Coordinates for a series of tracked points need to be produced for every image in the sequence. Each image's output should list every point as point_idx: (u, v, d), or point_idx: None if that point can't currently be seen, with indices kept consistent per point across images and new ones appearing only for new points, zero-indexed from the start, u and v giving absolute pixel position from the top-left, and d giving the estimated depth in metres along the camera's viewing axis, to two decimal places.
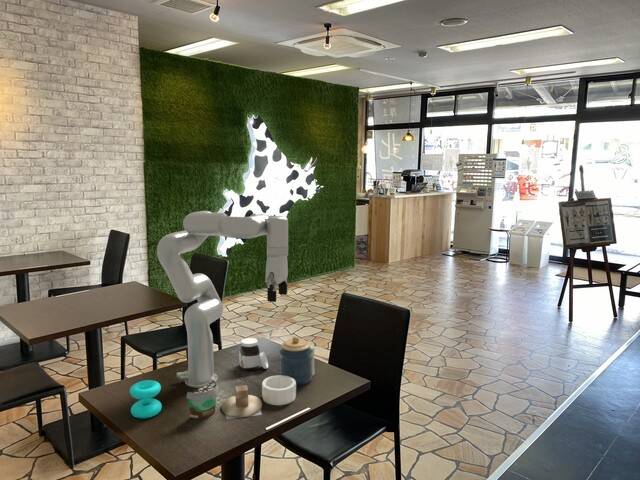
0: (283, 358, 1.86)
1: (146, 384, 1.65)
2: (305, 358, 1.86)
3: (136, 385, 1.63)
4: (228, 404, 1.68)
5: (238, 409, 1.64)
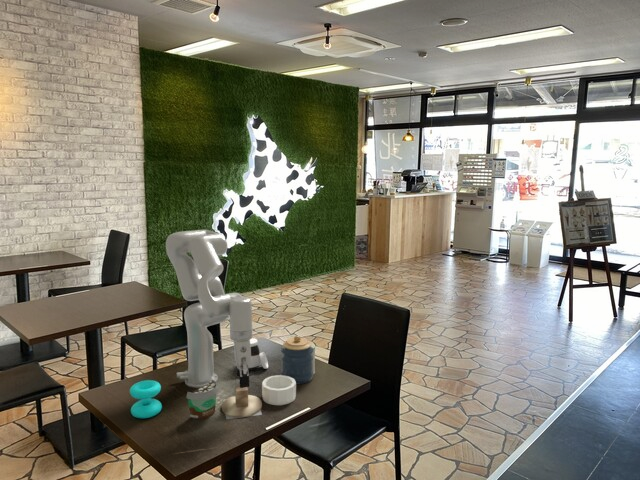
0: (285, 357, 1.88)
1: (146, 384, 1.65)
2: (307, 357, 1.87)
3: (136, 385, 1.63)
4: (228, 404, 1.68)
5: (238, 409, 1.64)
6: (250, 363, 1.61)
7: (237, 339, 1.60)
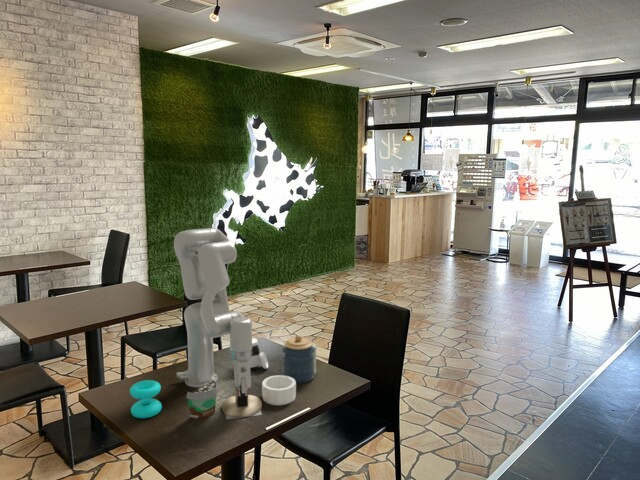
0: (286, 356, 1.88)
1: (146, 384, 1.65)
2: (308, 357, 1.88)
3: (136, 385, 1.63)
4: (228, 404, 1.68)
5: (238, 409, 1.64)
6: (249, 383, 1.63)
7: (237, 359, 1.62)
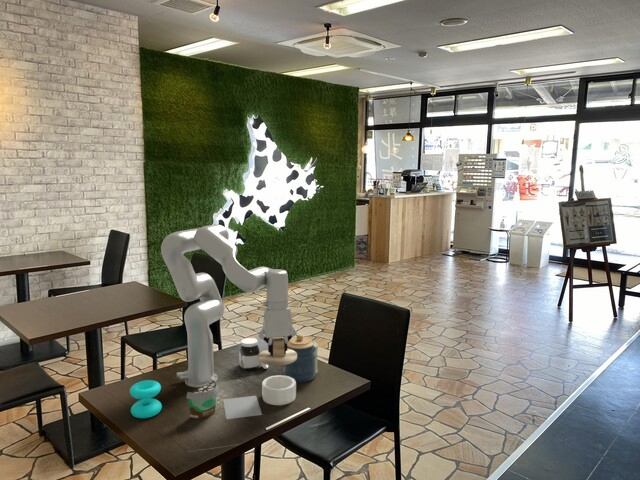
0: None
1: (146, 384, 1.65)
2: (309, 356, 1.88)
3: (136, 385, 1.63)
4: None
5: (267, 354, 1.74)
6: (264, 332, 1.68)
7: None
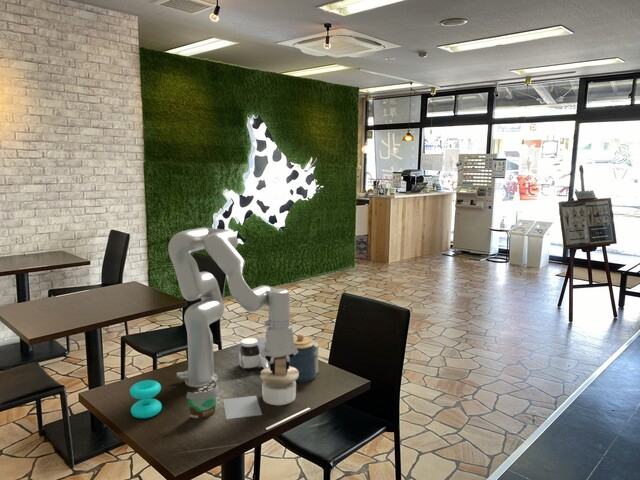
0: None
1: (146, 384, 1.65)
2: (309, 356, 1.88)
3: (136, 385, 1.63)
4: None
5: (269, 372, 1.75)
6: (266, 351, 1.69)
7: None
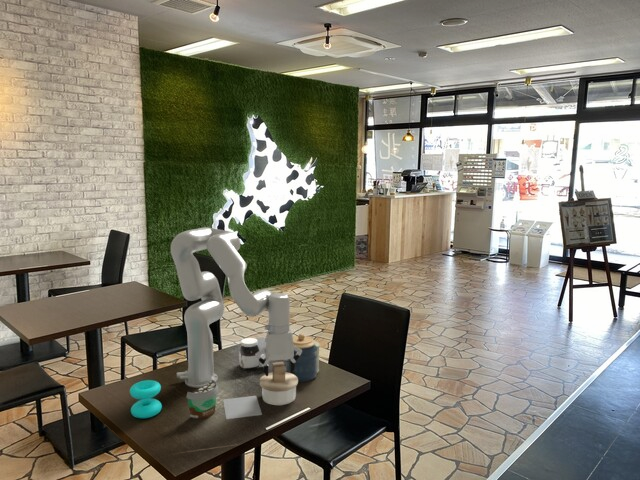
0: None
1: (146, 384, 1.65)
2: (310, 356, 1.89)
3: (136, 385, 1.63)
4: None
5: (268, 379, 1.76)
6: (266, 355, 1.70)
7: None
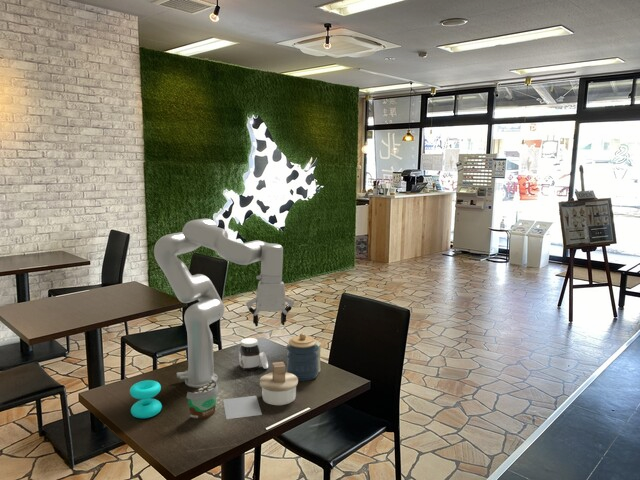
0: (290, 354, 1.90)
1: (146, 384, 1.65)
2: (311, 355, 1.89)
3: (136, 385, 1.63)
4: None
5: (268, 379, 1.76)
6: (257, 305, 1.68)
7: None
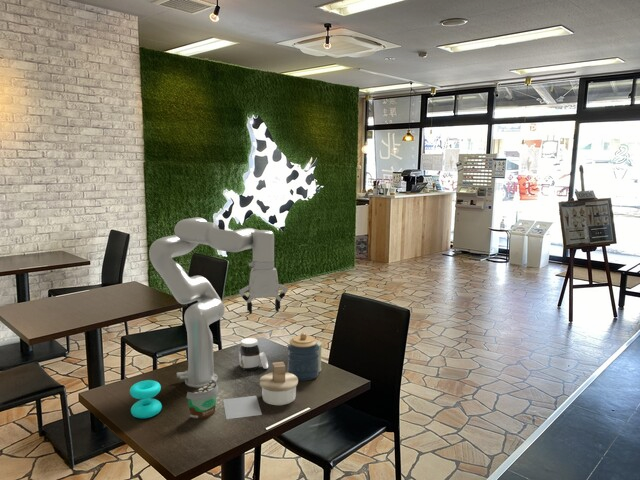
0: (291, 354, 1.91)
1: (146, 384, 1.65)
2: (312, 355, 1.90)
3: (136, 385, 1.63)
4: None
5: (268, 379, 1.76)
6: (250, 292, 1.68)
7: None
